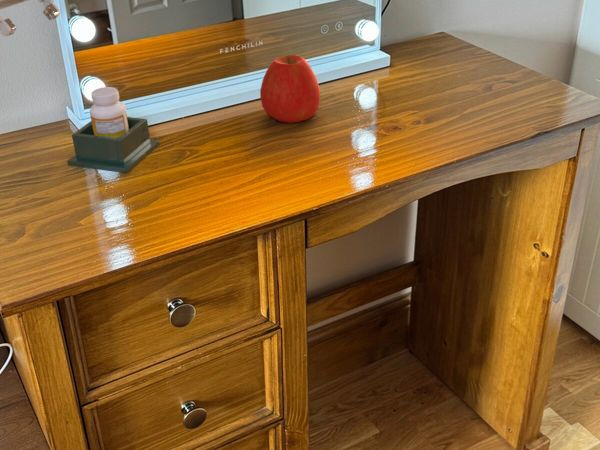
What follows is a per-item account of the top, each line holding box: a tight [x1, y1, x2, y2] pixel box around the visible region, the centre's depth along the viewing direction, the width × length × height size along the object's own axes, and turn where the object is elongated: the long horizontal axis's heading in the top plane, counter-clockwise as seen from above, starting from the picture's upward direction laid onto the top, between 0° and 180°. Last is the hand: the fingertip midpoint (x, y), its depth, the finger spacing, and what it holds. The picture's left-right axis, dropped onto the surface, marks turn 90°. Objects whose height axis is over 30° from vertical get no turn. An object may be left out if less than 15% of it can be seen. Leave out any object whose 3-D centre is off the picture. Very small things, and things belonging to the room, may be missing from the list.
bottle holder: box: [66, 116, 160, 174], centre depth 120 cm, size 10×10×5 cm
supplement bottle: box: [89, 86, 129, 138], centre depth 118 cm, size 5×5×10 cm
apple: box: [259, 54, 321, 124], centre depth 130 cm, size 10×10×10 cm
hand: (34, 24), depth 115 cm, fingers open, 8 cm apart
